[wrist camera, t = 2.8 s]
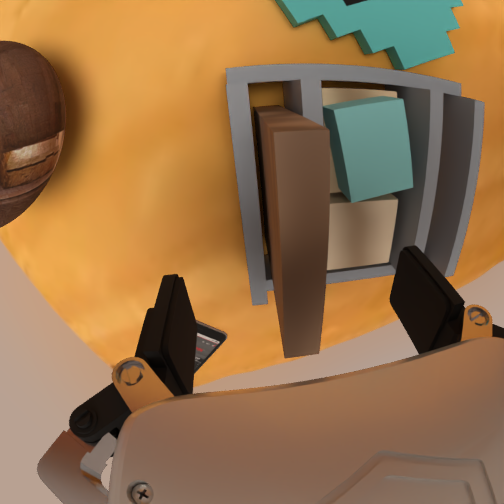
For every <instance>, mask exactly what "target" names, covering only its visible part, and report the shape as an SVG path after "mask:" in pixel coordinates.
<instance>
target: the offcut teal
mask: <svg viewBox="0 0 504 504" xmlns="http://www.w3.org/2000/svg"><path fill="white" fill-rule="evenodd" d="M323 117H324V121H325V126H326V128H327V129H329V130H330V148H331V153H332V157H333V162H334V167H335V172H336V178H337V183H338V188H339V189H340V190H341V191H342V193H343V194H344V195H345V196H346V197H347V198H348V200H349V201H350V202H351V203H354V202H358V201H362V200H366V199H369V198H373V197H377V196H381V195H385V194H389V193H393V192H397V191H401V190H405V189H409V188H413V175H412V162H411V151H410V142H409V134H408V126H407V119H406V113H405V107H404V101H403V99H400V98H394V97H388V96H378V97H371V98H364V99H358V100H352V101H346V102H341V103H335V104H330V105H325V106H323Z"/></svg>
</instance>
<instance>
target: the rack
mask: <svg viewBox="0 0 504 504" xmlns="http://www.w3.org/2000/svg"><path fill="white" fill-rule="evenodd" d="M226 76H227V84H226V91H227V100H228V108H229V117H230V125H231V134H232V142H233V151H234V159H235V168H236V176H237V184H238V192H239V201H240V209H241V217H242V225H243V233H244V241H245V249H246V257H247V265H248V273H249V281H250V289H251V297H252V305H262V304H268V300H267V291H272V290H274V288H273V282H272V276H271V270H270V263H269V257H268V255H264V252H263V241H262V229H261V218H260V207H259V196H258V185H257V175H256V164H255V154H254V143H253V133H252V123H251V113H250V103H249V94H248V84H253V83H266V82H283V93H284V106H285V108H286V109H288V110H290V111H292V112H294V113H297V114H299V115H301V116H303V117H305V118H307V119H309V120H311V121H313V122H315V123H317V124H319V125H321V126H323V106H322V88H321V81H342V82H360V83H373V84H383V85H384V88H385V90H387V91H395V92H397V98H400V99H403V101H404V107H405V113H406V119H407V126H408V134H409V142H410V151H411V162H412V175H413V188H409V189H405V190H401V191H397V192H393V193H391V194H392V195H394V196H395V197H396V198H397V199H398V206H397V214H396V221H395V227H394V234H393V240H392V246H391V251H390V257H389V262H387V263H380V264H372V265H364V266H357V267H349V268H341V269H332V270H327V276H326V284H331V283H338V282H346V281H353V280H360V279H367V278H374V277H381V276H388V275H394V274H395V273H396V268H397V263H398V258H399V254H400V251H401V250H403V248H404V247H406V246H413V245H416V246H417V247H418V248H419V249H420V250H421V251H422V252H423V253H424V254H425V255H426V256H427V258H428V259H429V260H430V261H431V262H432V263H433V264H434V265H435V267H436V268H437V269H438V270H439V271H440V272H441V273H442V275H443V276H444V277H448V276H453V275H454V272H455V269H456V266H457V262H458V259H459V256H460V253H461V249H462V246H463V242H464V238H465V235H466V231H467V227H468V223H469V219H470V214H471V210H472V205H473V200H474V195H475V190H476V184H477V178H478V172H479V165H480V157H481V148H482V138H483V125H484V102H482V101H478V100H474V99H470V98H465V97H461V83H457V82H453V81H449V80H445V79H440V78H436V77H431V76H426V75H421V74H416V73H410V72H404V71H398V70H391V69H383V68H375V67H365V66H354V65H338V64H272V65H256V66H244V67H234V68H226Z"/></svg>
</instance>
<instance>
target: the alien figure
mask: <svg viewBox="0 0 504 504" xmlns="http://www.w3.org/2000/svg"><path fill="white" fill-rule="evenodd" d="M275 1H276V3H277V4H278V5H279V7H280V8H281V10H282V11H283V12H284V14H285V15H286V17H287V18H288V20H289V21H290V23H291V24H292V26H293V27H297V26H299V25H302V24H304V23H307V22H309V21H312V20H315V19H318V21H319V22H320V24H321V25H322V27H323V28H324V30H325V32H326V33H327V35H328V37H329V38H330V40H333V39H335V38H338V37H341V36H343V35H346V34H349V33H352V32H353V34H354V36H355V38H356V40H357V41H358V43H359V45H360V47H361V49H362V51H363V53H364V54H371V53H375V52H378V51H381V50H383V49H385V50H386V52H387V54H388V56H389V58H390V60H391V62H392V64H393V66H394V69H395V70H405V69H408V68H411V67H413V66H416V65H419V64H422V63H425V62H428V61H431V60H434V59H437V58H440V57H443V56H446V55H450V54H453V53H455V52H454V49H453V47H452V45H451V42H450V40H449V37H448V35H447V33H446V31H449V30H454V29H458V28H460V27H459V25H458V23H457V20H456V18H455V16H454V14H453V12H452V10H451V8H452V7H458V6H463V3H462V1H461V0H275Z"/></svg>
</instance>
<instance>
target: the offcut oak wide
mask: <svg viewBox="0 0 504 504" xmlns="http://www.w3.org/2000/svg"><path fill="white" fill-rule="evenodd" d="M321 88H322V106H325V105H330V104H335V103H341V102H346V101H352V100H358V99H364V98H371V97H378V96H388V97H394V98H397V92H395V91H387V90H378V89H364V88H334V87H321ZM323 127H325V128H326V126H325V121H324V117H323ZM336 192H342V191H341V190H340V189H339V188H338V183H337V178H336V172H335V167H334V162H333V157H332V153H331V148H330V193H336Z"/></svg>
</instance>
